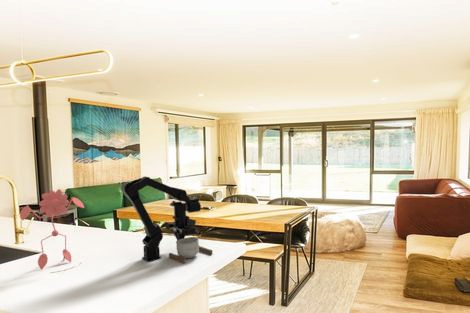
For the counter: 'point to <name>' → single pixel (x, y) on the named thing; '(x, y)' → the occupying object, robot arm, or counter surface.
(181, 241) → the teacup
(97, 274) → the counter surface
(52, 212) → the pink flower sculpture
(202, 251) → the guide rails
